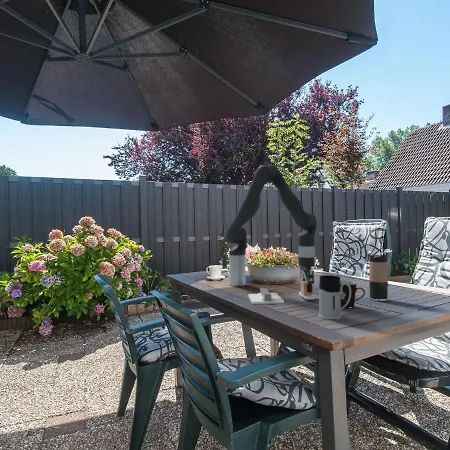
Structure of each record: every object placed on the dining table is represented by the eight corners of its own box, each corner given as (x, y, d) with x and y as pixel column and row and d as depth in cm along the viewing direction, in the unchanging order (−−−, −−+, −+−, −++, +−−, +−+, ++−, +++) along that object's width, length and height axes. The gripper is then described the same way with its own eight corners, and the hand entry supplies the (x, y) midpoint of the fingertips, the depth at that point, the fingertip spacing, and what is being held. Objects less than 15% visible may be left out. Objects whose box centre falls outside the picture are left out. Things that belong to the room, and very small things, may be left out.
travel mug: (386, 298, 155) (385, 255, 155) (389, 302, 148) (389, 256, 148) (368, 297, 157) (368, 255, 157) (370, 301, 150) (370, 256, 150)
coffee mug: (330, 305, 144) (330, 281, 144) (346, 303, 147) (346, 280, 147) (349, 311, 133) (349, 286, 133) (366, 309, 136) (366, 285, 136)
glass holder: (329, 312, 133) (329, 274, 132) (359, 321, 120) (359, 279, 120) (313, 315, 128) (312, 276, 128) (342, 325, 116) (341, 281, 116)
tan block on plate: (299, 293, 162) (298, 279, 162) (307, 293, 162) (307, 279, 162) (306, 299, 150) (305, 284, 150) (314, 299, 150) (314, 284, 150)
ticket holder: (248, 296, 163) (248, 287, 163) (277, 295, 164) (276, 287, 164) (252, 304, 147) (252, 294, 147) (284, 303, 148) (284, 294, 148)
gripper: (294, 254, 163) (295, 287, 163) (302, 257, 149) (303, 294, 149) (310, 254, 163) (310, 287, 163) (319, 257, 149) (319, 293, 149)
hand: (306, 290), depth 156 cm, fingers open, 8 cm apart
